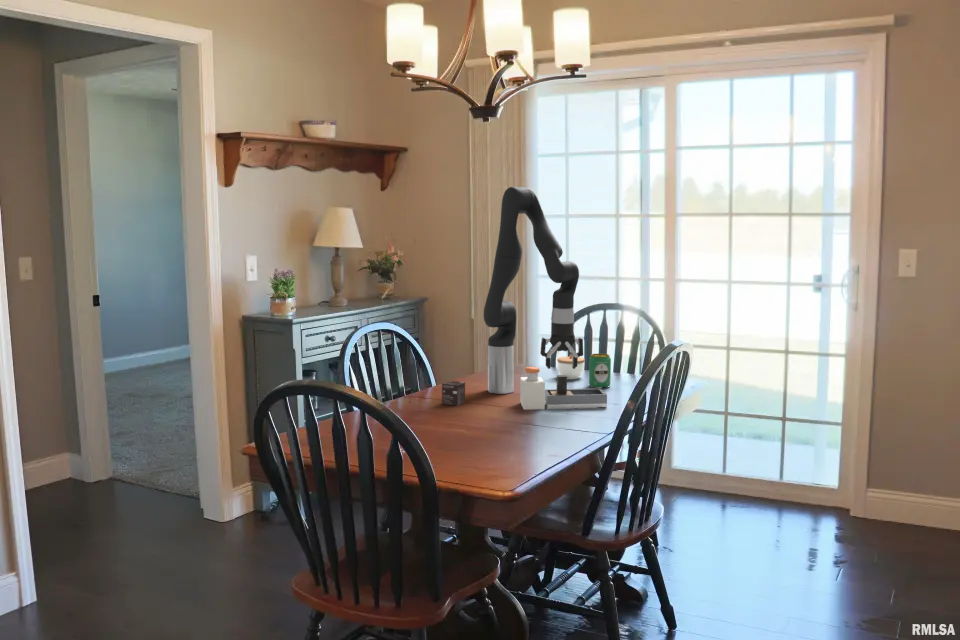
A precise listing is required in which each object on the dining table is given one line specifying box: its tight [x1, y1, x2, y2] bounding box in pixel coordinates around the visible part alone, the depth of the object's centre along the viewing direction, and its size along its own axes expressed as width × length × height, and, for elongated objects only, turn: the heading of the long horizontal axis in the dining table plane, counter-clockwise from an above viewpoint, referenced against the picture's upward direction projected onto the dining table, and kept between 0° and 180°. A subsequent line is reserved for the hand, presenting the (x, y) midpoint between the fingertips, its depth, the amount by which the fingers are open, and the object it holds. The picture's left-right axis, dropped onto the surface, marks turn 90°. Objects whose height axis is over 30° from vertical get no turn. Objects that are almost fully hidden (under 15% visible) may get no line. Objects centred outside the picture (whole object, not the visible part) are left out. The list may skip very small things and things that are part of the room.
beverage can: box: [588, 353, 612, 388], centre depth 310 cm, size 8×8×12 cm
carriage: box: [550, 374, 573, 395], centre depth 279 cm, size 7×7×8 cm
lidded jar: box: [556, 354, 586, 380], centre depth 327 cm, size 11×11×9 cm
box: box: [441, 380, 466, 407], centre depth 283 cm, size 6×6×7 cm
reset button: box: [524, 366, 541, 381], centre depth 278 cm, size 5×5×5 cm
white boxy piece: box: [519, 376, 546, 410], centre depth 279 cm, size 7×10×9 cm
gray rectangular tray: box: [545, 388, 608, 410], centre depth 280 cm, size 20×10×4 cm, turn 94°
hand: (561, 368), depth 279 cm, fingers open, 8 cm apart
